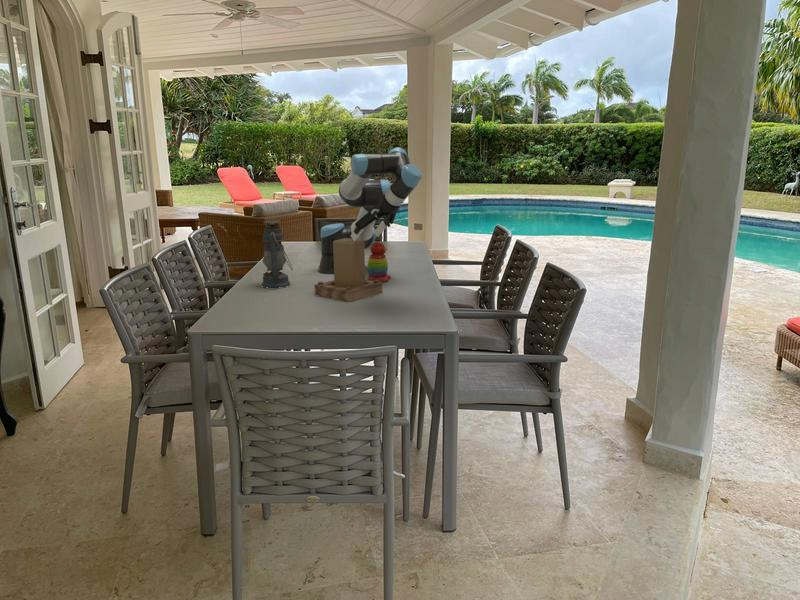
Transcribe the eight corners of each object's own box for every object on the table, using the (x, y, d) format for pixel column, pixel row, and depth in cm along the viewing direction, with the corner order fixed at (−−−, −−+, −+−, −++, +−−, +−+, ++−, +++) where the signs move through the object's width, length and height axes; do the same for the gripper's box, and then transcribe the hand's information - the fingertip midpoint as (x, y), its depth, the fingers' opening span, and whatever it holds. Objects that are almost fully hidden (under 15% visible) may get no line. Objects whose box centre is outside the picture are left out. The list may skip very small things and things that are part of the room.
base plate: (315, 295, 252) (314, 282, 251) (348, 286, 267) (348, 274, 266) (349, 302, 240) (348, 288, 239) (382, 292, 255) (382, 280, 253)
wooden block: (366, 285, 255) (365, 238, 251) (354, 290, 247) (353, 241, 242) (345, 283, 259) (344, 237, 255) (333, 288, 251) (331, 240, 246)
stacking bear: (386, 282, 275) (386, 244, 270) (365, 282, 277) (364, 243, 272) (391, 278, 285) (391, 240, 281) (371, 277, 287) (370, 240, 283)
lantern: (262, 281, 280) (257, 217, 273) (293, 280, 283) (289, 216, 275) (261, 291, 261) (256, 221, 254) (294, 289, 264) (290, 220, 257)
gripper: (375, 209, 218) (347, 247, 231) (418, 204, 236) (390, 239, 249) (364, 194, 220) (337, 232, 233) (407, 190, 238) (380, 226, 251)
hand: (364, 236), depth 241 cm, fingers open, 13 cm apart
